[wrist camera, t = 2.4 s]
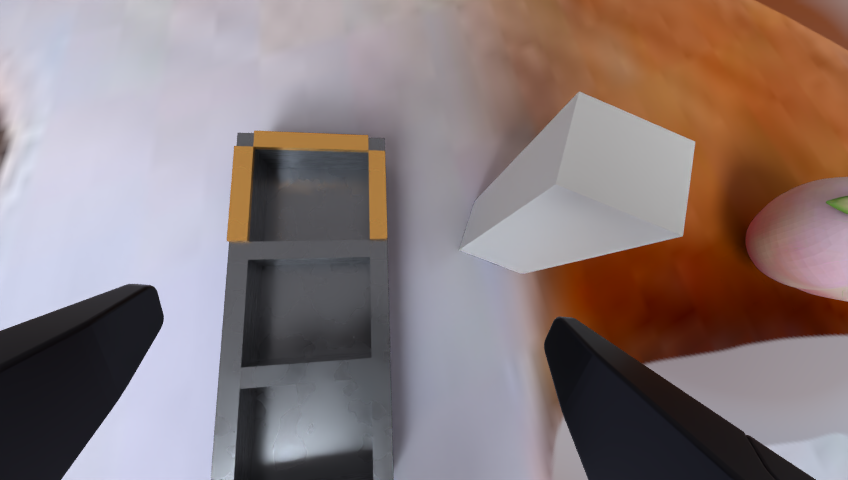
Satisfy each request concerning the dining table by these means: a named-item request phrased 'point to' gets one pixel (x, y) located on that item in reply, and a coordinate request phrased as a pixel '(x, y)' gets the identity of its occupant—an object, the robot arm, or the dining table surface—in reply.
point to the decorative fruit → (805, 238)
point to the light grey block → (583, 191)
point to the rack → (305, 312)
